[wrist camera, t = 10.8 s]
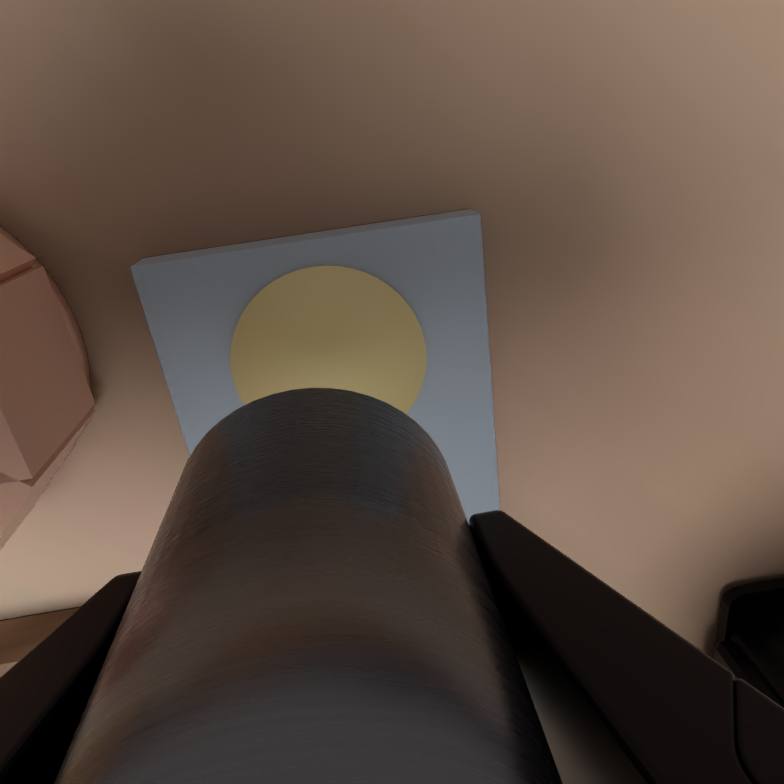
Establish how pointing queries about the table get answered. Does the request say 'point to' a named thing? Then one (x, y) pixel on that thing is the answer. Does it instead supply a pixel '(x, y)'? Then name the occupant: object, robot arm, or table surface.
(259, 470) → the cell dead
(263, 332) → the blue grey board
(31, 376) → the pot
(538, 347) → the table surface
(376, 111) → the table surface
